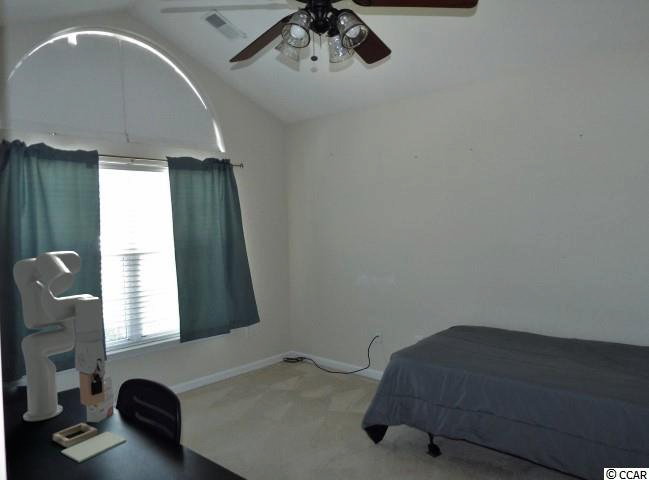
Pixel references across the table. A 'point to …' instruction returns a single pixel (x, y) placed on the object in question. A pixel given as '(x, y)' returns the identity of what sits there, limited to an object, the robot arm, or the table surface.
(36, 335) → the robot arm
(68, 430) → the pocket frame
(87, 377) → the terracotta block
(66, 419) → the table surface
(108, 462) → the table surface
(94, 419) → the ink cartridge box
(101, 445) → the sage pad
